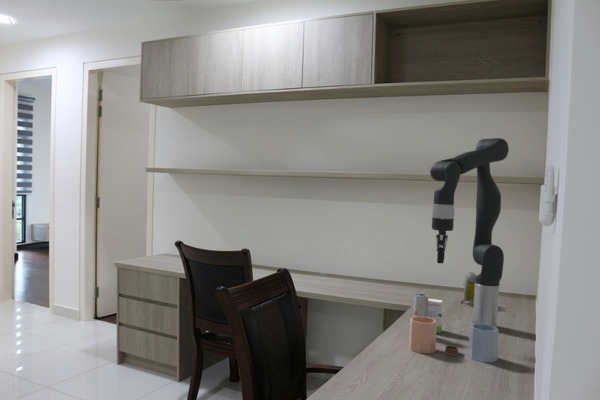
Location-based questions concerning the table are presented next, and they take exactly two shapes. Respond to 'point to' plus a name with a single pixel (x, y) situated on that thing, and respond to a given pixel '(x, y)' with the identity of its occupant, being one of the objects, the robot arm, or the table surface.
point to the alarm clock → (469, 287)
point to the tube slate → (483, 342)
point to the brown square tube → (451, 350)
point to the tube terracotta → (422, 334)
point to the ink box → (436, 312)
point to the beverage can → (420, 305)
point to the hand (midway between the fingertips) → (440, 261)
